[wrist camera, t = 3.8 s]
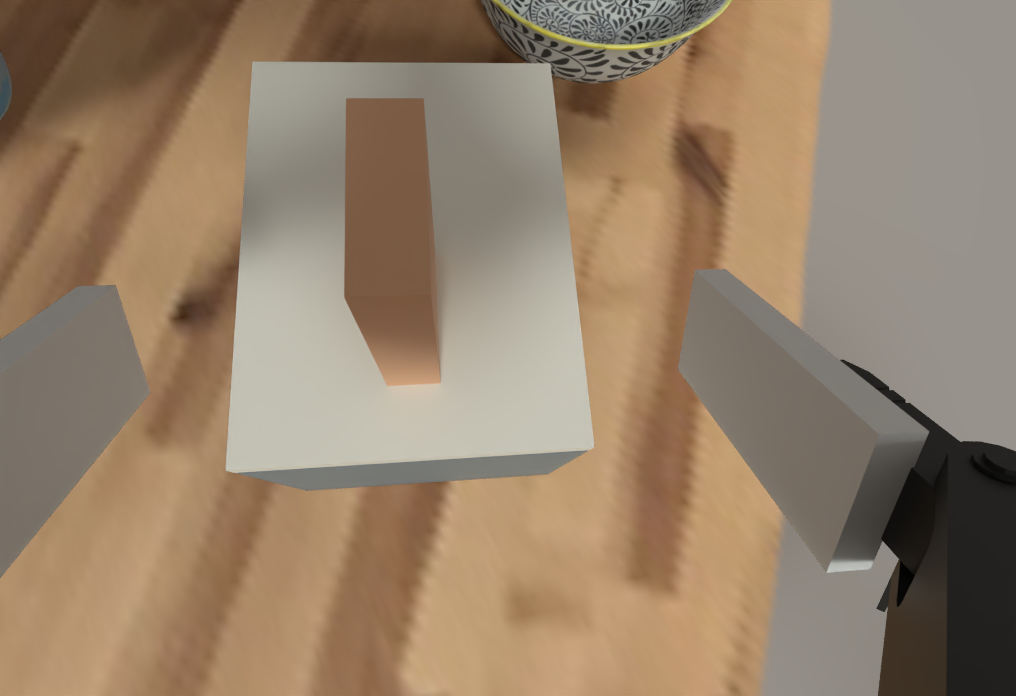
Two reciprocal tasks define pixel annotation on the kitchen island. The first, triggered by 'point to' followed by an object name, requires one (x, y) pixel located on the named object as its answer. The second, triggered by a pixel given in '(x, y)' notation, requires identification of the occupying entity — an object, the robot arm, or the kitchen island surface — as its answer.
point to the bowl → (599, 33)
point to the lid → (404, 269)
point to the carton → (417, 471)
